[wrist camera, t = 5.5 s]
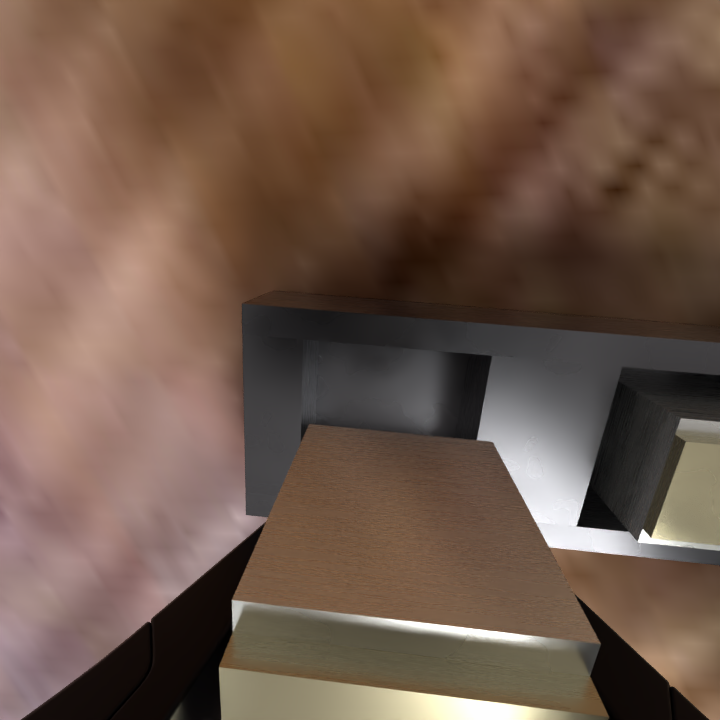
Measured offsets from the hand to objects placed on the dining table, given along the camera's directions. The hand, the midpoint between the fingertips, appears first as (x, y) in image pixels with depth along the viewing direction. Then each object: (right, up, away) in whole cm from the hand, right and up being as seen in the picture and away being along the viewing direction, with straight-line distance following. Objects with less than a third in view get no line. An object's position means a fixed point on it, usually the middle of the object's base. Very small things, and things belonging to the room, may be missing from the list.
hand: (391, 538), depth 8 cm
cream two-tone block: (0, 0, +1) cm, 1 cm away
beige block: (+10, +1, +7) cm, 13 cm away
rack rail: (+5, +2, +8) cm, 10 cm away
